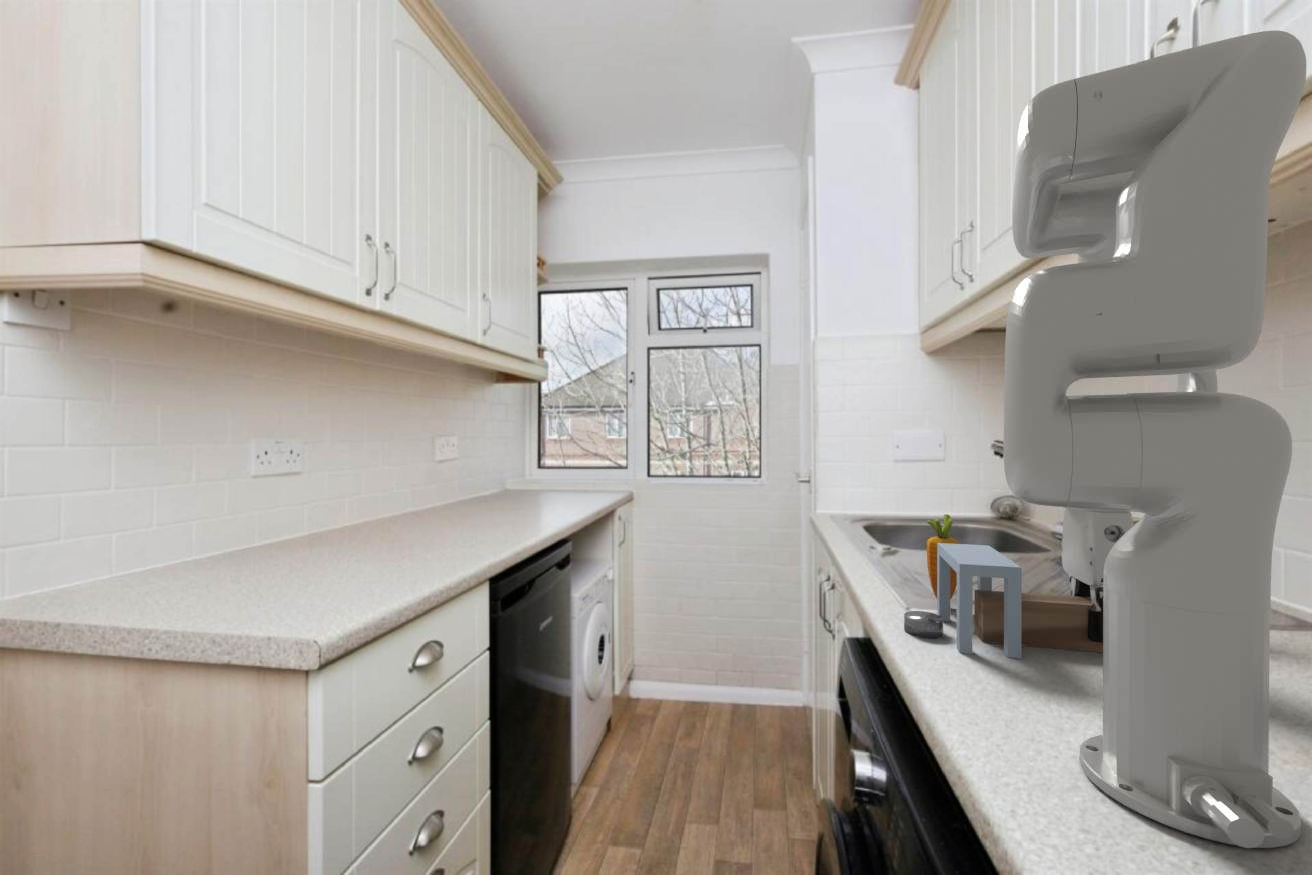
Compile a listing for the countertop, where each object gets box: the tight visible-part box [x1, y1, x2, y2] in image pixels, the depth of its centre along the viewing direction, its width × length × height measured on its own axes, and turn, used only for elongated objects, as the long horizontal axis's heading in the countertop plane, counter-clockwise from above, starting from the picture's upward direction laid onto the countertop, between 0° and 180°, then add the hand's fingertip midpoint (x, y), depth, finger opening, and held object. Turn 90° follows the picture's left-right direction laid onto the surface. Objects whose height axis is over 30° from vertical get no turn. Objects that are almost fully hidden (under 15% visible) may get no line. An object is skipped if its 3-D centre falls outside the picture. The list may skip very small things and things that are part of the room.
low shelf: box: [936, 543, 1023, 660], centre depth 77 cm, size 14×7×12 cm, turn 164°
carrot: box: [926, 513, 961, 601], centre depth 90 cm, size 5×5×15 cm
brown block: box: [973, 589, 1103, 653], centre depth 75 cm, size 4×18×6 cm, turn 75°
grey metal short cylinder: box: [903, 610, 944, 640], centre depth 79 cm, size 5×5×2 cm
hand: (1094, 633), depth 74 cm, fingers closed on brown block, 4 cm apart
